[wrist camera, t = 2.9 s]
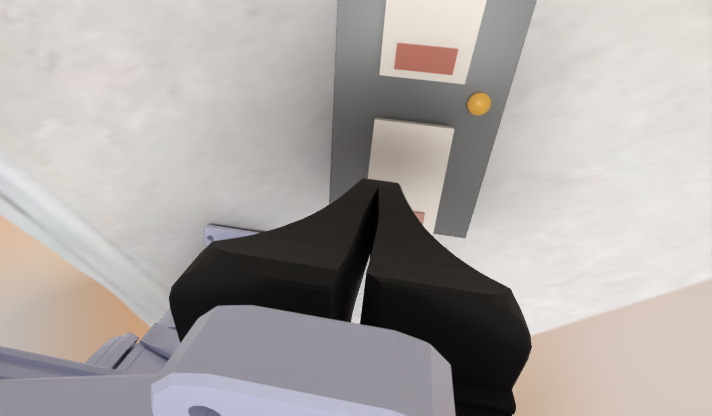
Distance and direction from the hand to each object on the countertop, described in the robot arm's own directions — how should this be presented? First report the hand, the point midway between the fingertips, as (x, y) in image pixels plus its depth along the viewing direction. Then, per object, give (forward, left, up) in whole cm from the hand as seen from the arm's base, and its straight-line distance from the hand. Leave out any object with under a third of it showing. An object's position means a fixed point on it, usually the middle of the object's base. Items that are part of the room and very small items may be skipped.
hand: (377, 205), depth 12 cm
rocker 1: (+6, -1, -5) cm, 8 cm away
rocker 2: (-1, -1, -5) cm, 5 cm away
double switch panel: (+3, -1, -9) cm, 10 cm away
